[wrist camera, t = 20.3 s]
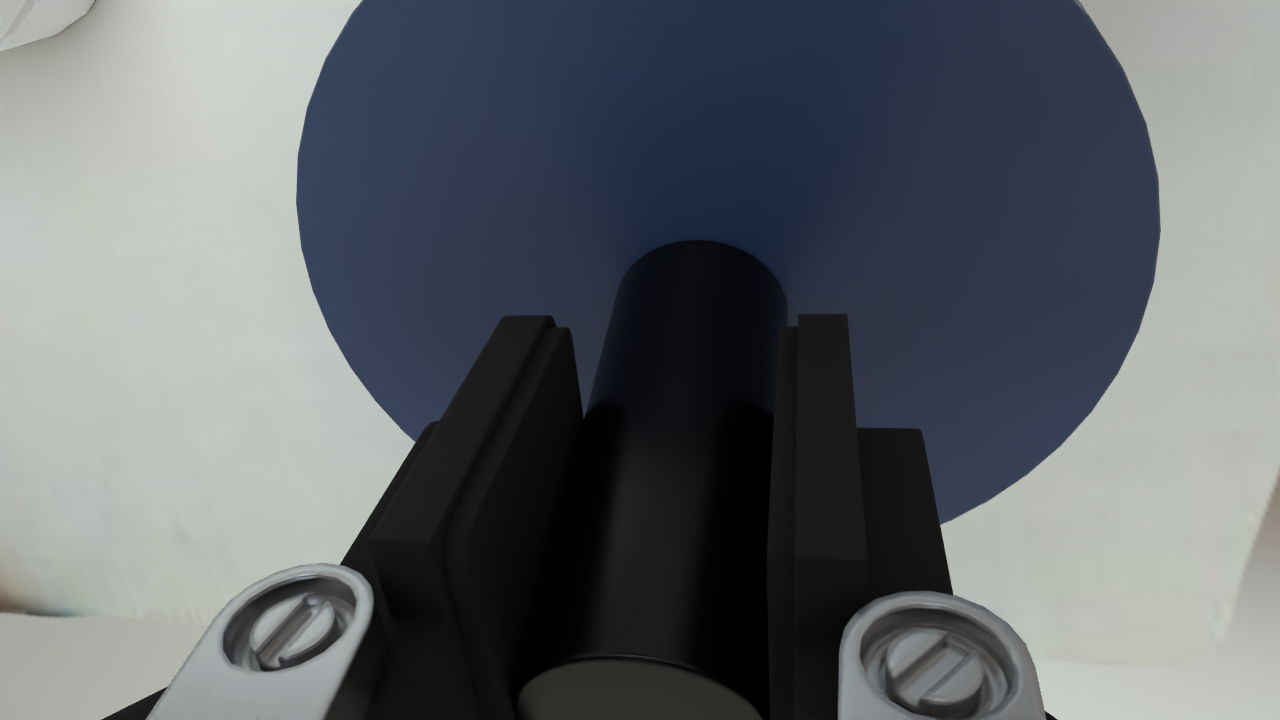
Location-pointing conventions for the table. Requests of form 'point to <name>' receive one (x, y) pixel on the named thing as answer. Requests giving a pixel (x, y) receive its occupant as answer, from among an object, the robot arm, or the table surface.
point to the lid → (726, 270)
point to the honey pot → (37, 19)
